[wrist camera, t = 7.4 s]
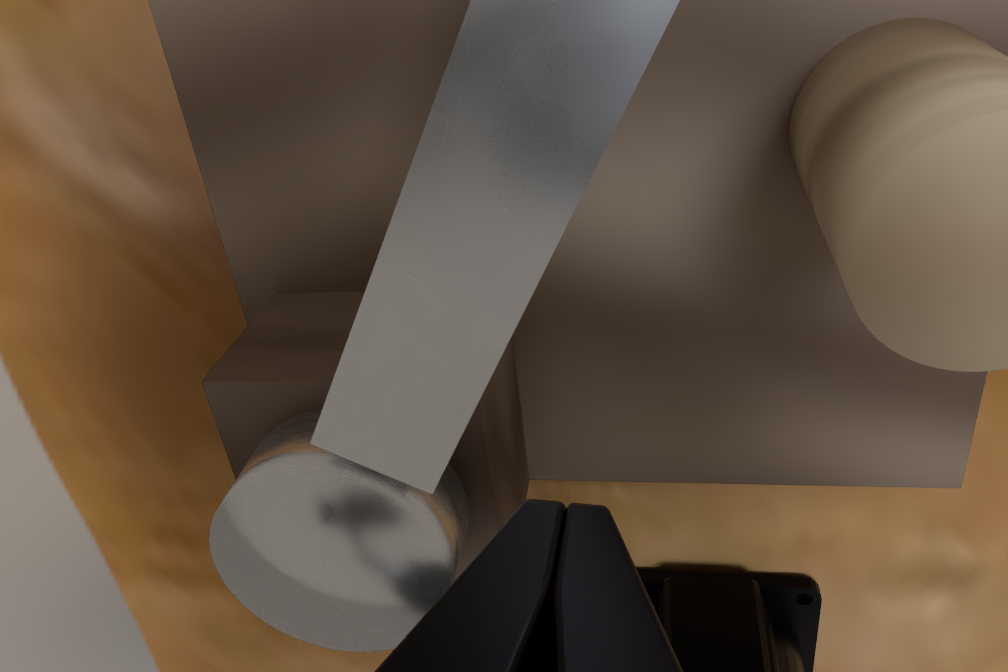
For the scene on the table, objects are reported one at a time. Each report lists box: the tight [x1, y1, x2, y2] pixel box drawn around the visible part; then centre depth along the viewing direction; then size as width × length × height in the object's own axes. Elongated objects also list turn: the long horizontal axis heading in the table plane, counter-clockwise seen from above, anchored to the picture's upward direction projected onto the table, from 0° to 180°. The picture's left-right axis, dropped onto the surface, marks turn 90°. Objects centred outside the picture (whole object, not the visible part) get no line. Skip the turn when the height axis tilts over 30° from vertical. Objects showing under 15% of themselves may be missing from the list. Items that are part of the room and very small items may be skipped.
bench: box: [148, 0, 1008, 581], centre depth 16 cm, size 22×18×6 cm
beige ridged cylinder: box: [789, 18, 1008, 372], centre depth 14 cm, size 4×4×6 cm
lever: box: [209, 0, 680, 652], centre depth 11 cm, size 23×5×6 cm, turn 158°
